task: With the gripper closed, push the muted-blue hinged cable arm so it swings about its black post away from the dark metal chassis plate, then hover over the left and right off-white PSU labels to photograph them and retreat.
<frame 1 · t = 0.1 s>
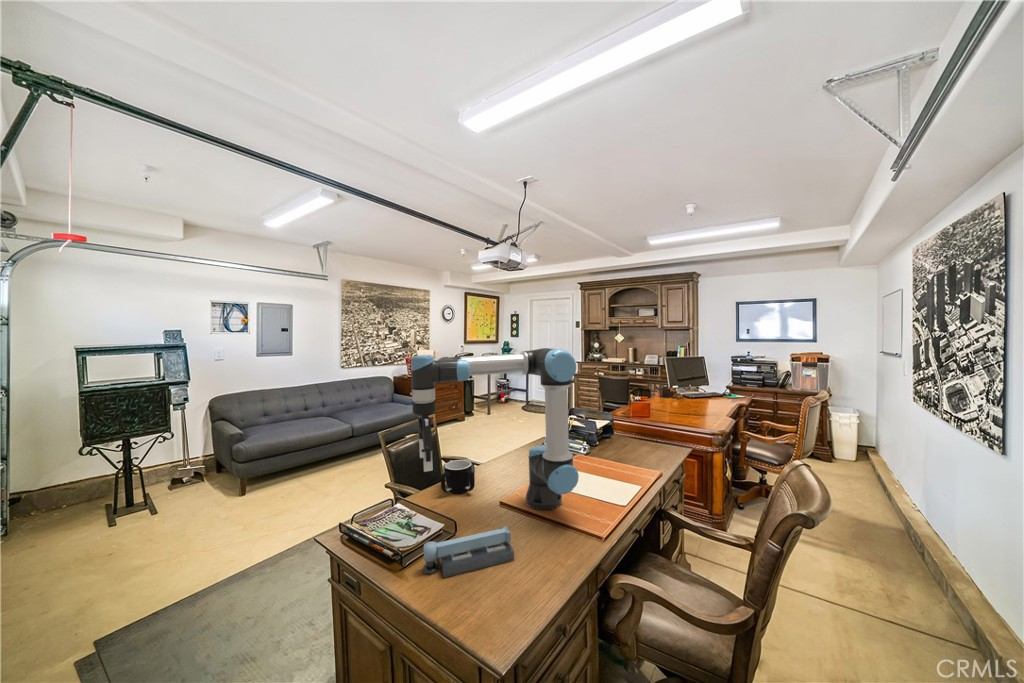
hand: (425, 463, 123), 28 cm above the table, fingers open, 13 cm apart
chassis: (475, 558, 116), on the table
post: (431, 569, 111), on the table
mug: (458, 490, 166), on the table
cable arm: (467, 542, 115), point 6 cm above the table, hinge at 0.0°
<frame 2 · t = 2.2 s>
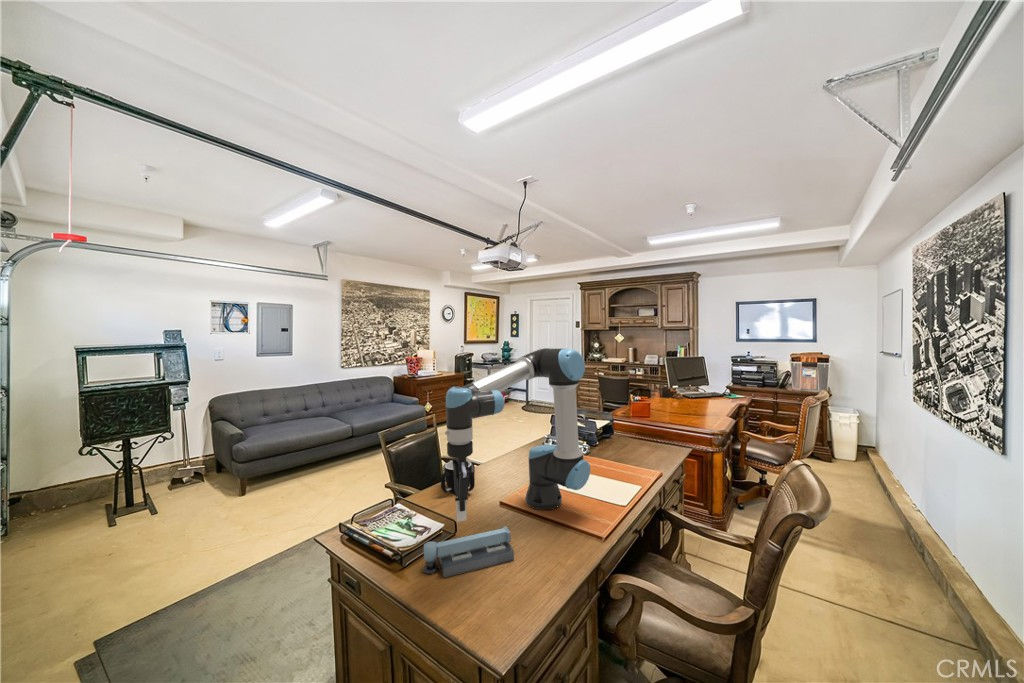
hand: (461, 519, 108), 16 cm above the table, fingers closed
nothing on the table moved.
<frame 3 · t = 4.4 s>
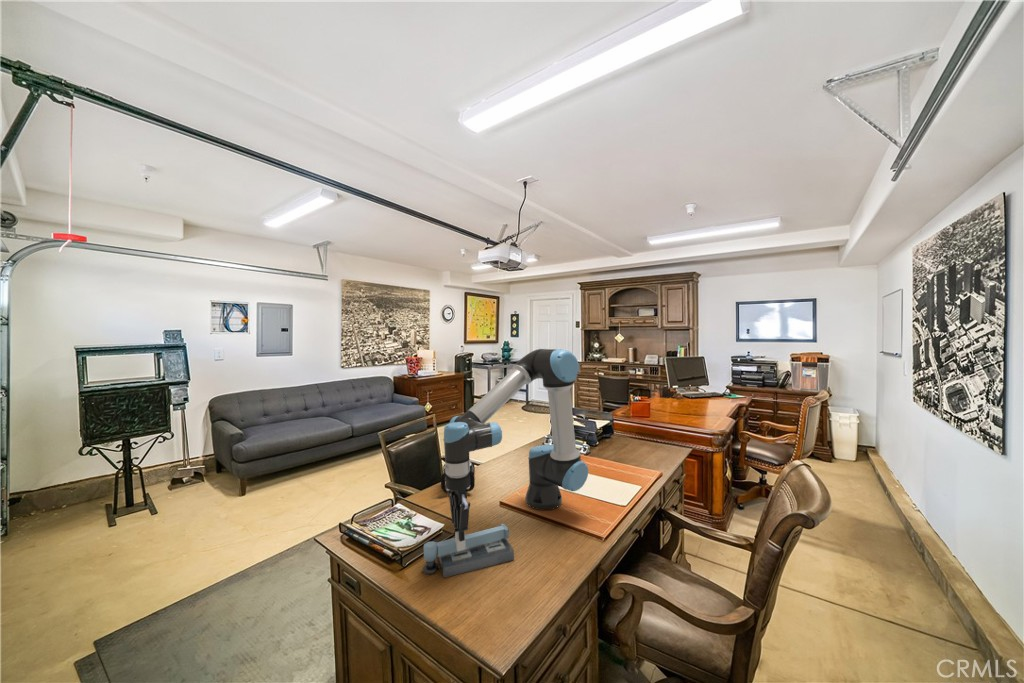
hand: (460, 549, 113), 5 cm above the table, fingers closed
cable arm: (467, 541, 115), point 6 cm above the table, hinge at 4.4°, touching gripper
everything else where it was.
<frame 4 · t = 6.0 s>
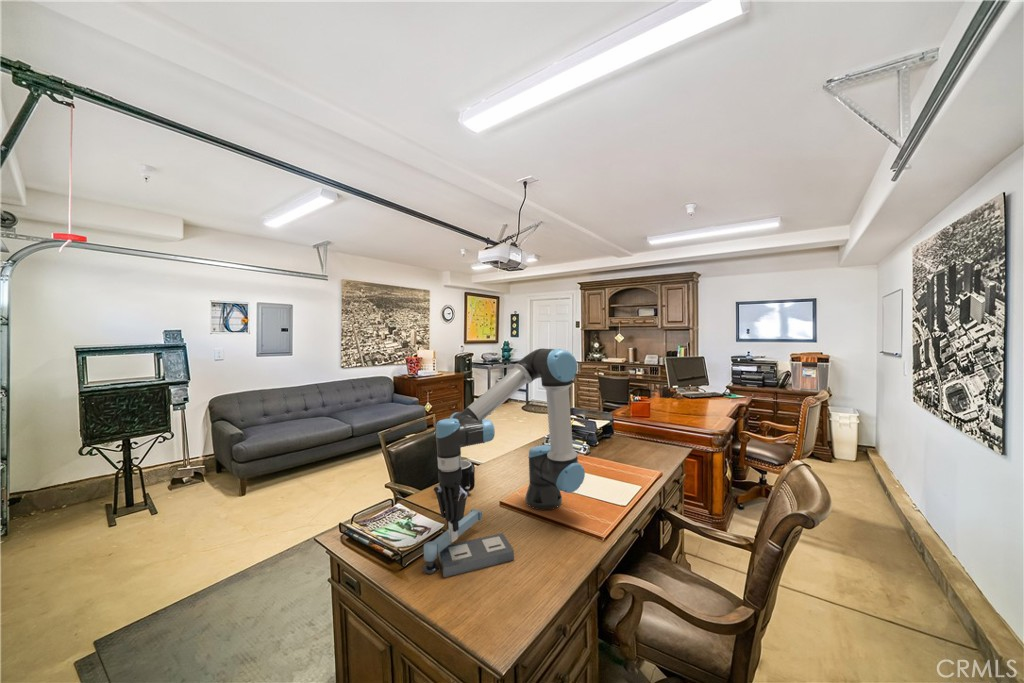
hand: (453, 540, 118), 5 cm above the table, fingers closed
cable arm: (454, 532, 121), point 6 cm above the table, hinge at 41.3°, touching gripper
everything else where it was.
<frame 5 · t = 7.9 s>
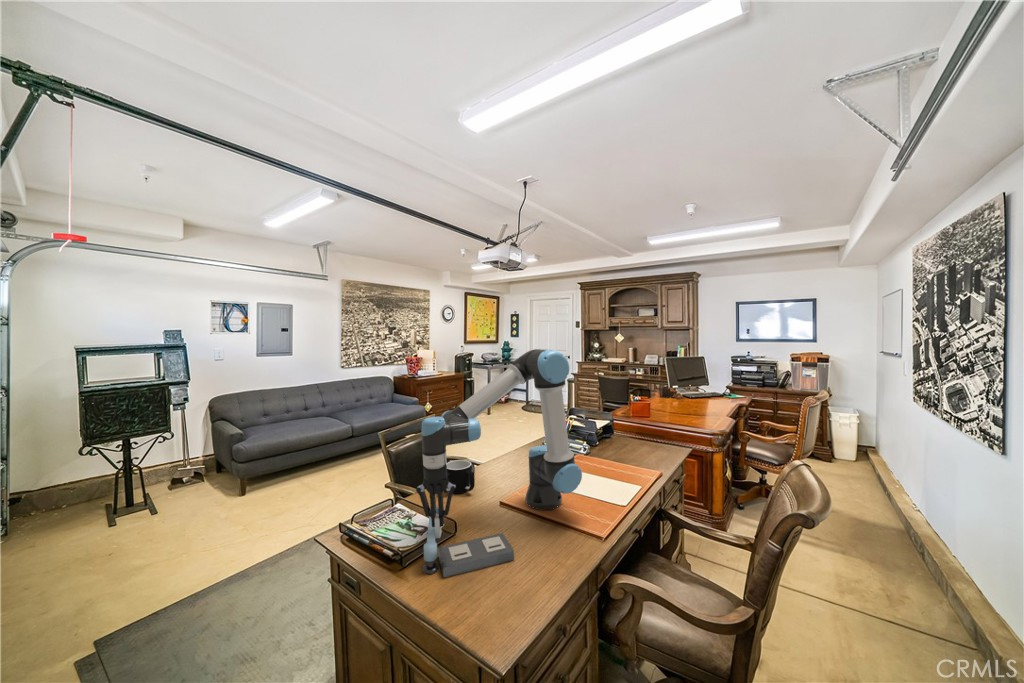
hand: (438, 535, 120), 5 cm above the table, fingers closed
cable arm: (432, 530, 122), point 6 cm above the table, hinge at 80.4°
everything else where it was.
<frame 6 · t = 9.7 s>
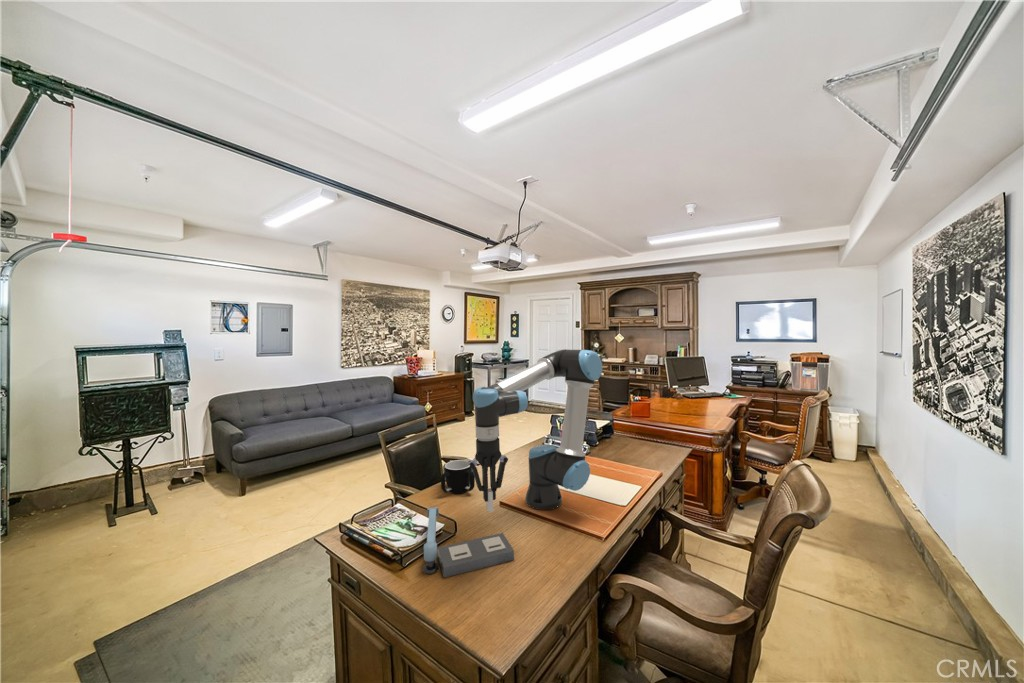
hand: (490, 510, 118), 14 cm above the table, fingers closed
cable arm: (431, 530, 122), point 6 cm above the table, hinge at 80.8°
everything else where it was.
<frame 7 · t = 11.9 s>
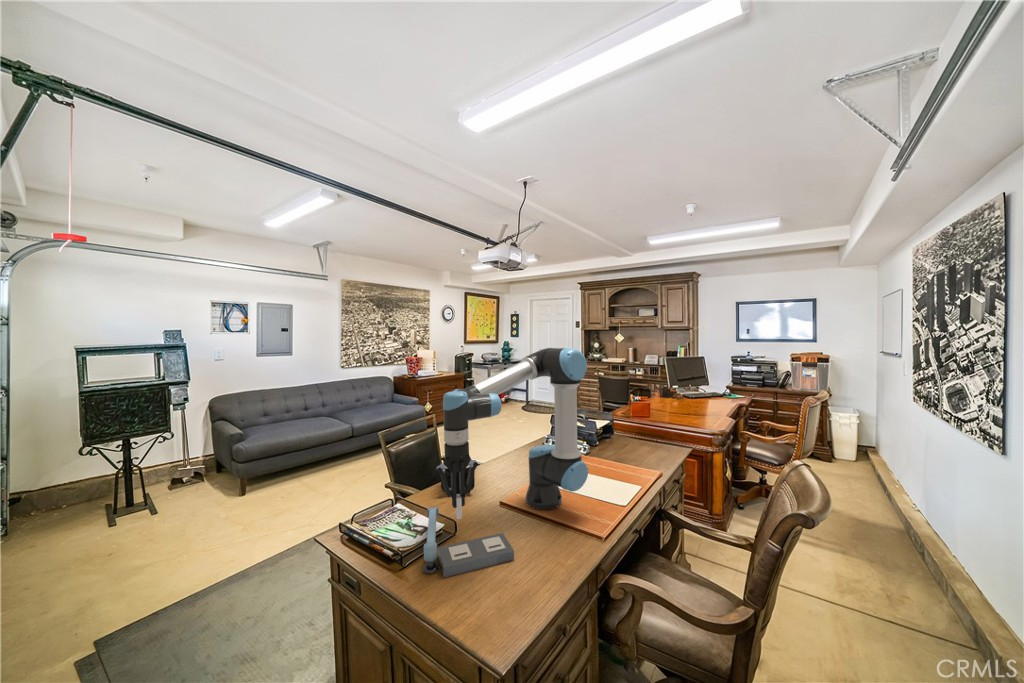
hand: (458, 516, 114), 14 cm above the table, fingers closed
nothing on the table moved.
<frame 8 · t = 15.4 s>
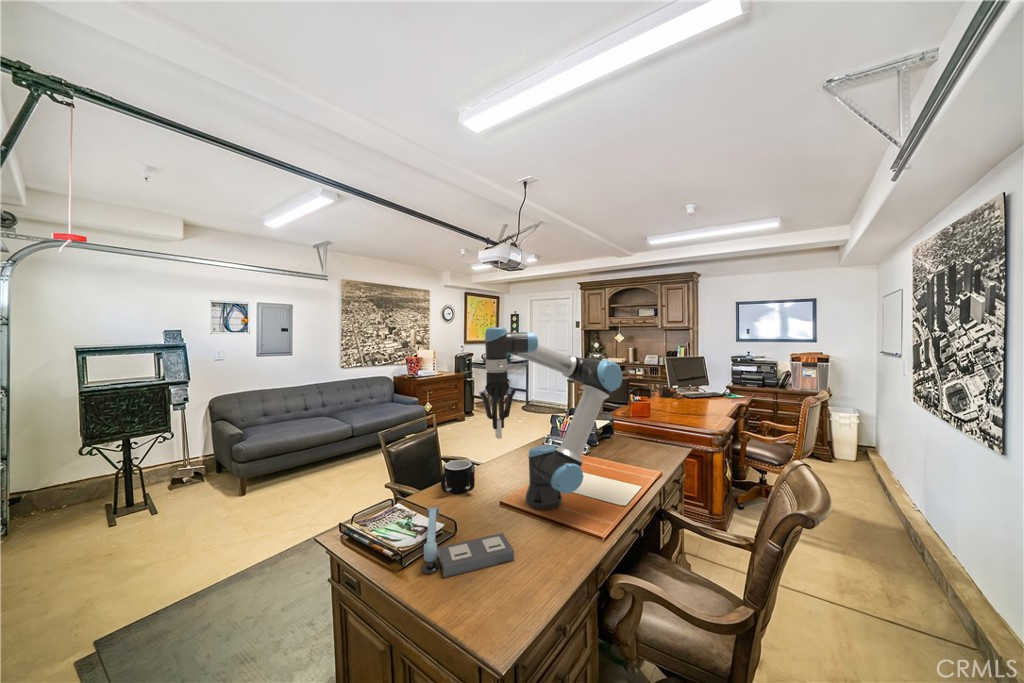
hand: (498, 437, 129), 34 cm above the table, fingers closed
nothing on the table moved.
at the end: cable arm at +81° (first picture: +0°) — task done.
